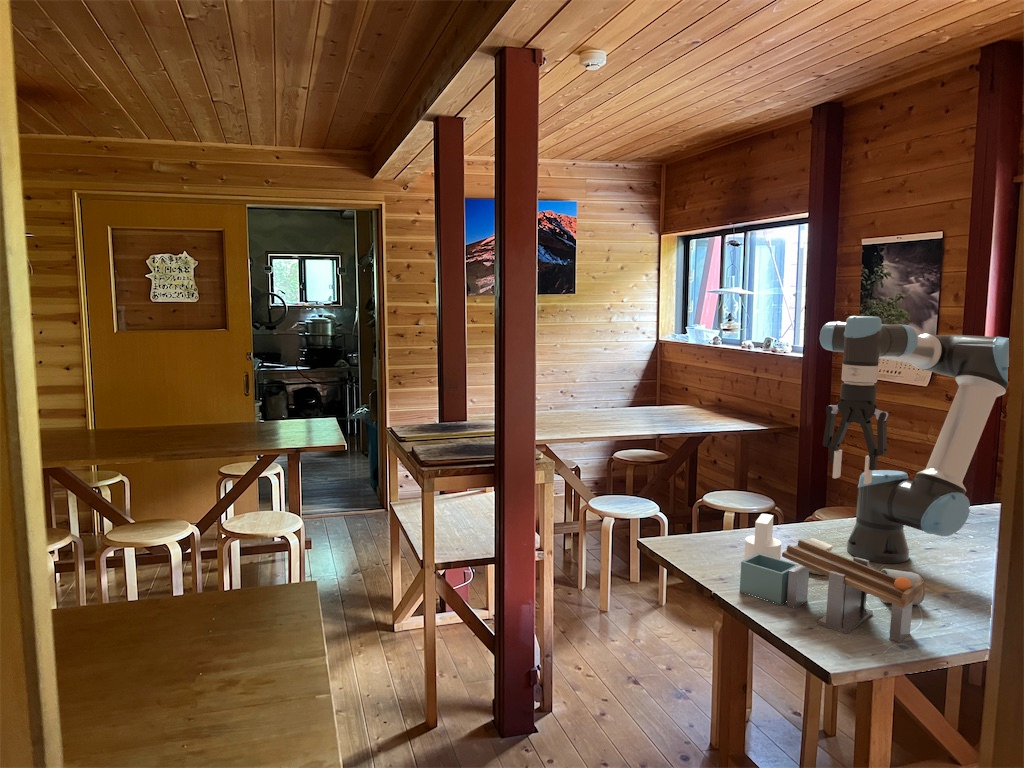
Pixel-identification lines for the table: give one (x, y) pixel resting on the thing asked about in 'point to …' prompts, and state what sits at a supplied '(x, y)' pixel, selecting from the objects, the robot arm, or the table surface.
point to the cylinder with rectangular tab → (763, 539)
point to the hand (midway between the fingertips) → (851, 480)
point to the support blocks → (845, 603)
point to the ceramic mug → (913, 579)
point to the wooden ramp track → (851, 571)
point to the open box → (765, 578)
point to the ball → (902, 584)
